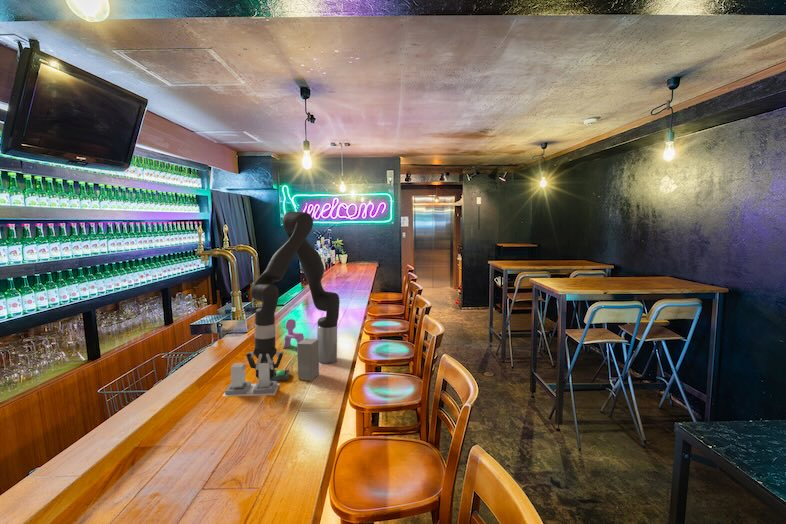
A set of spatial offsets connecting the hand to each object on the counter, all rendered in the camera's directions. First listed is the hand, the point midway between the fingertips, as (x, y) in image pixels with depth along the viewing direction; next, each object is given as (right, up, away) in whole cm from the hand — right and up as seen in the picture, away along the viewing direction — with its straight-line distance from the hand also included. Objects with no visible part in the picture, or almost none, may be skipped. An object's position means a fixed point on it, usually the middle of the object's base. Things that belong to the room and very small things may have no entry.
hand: (265, 377), depth 141 cm
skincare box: (+13, -5, +15) cm, 21 cm away
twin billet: (-10, -4, -1) cm, 11 cm away
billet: (0, -3, 0) cm, 3 cm away
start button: (+3, -4, +11) cm, 12 cm away
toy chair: (-2, 0, +48) cm, 49 cm away
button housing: (+2, -4, +11) cm, 12 cm away
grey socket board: (-5, -6, 0) cm, 8 cm away
